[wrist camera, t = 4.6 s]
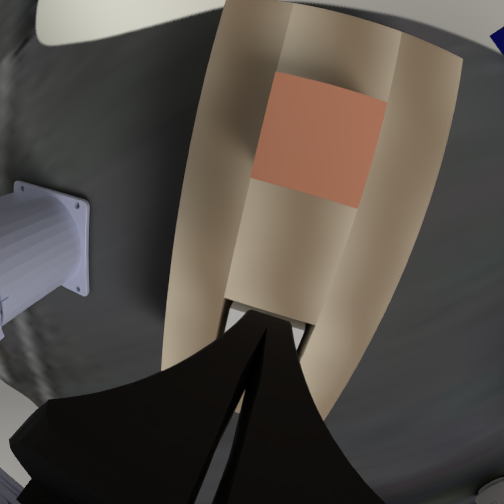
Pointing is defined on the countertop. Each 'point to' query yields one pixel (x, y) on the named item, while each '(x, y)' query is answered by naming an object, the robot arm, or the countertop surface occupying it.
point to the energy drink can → (492, 492)
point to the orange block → (318, 139)
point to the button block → (299, 203)
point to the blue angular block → (499, 39)
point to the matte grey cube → (240, 309)
